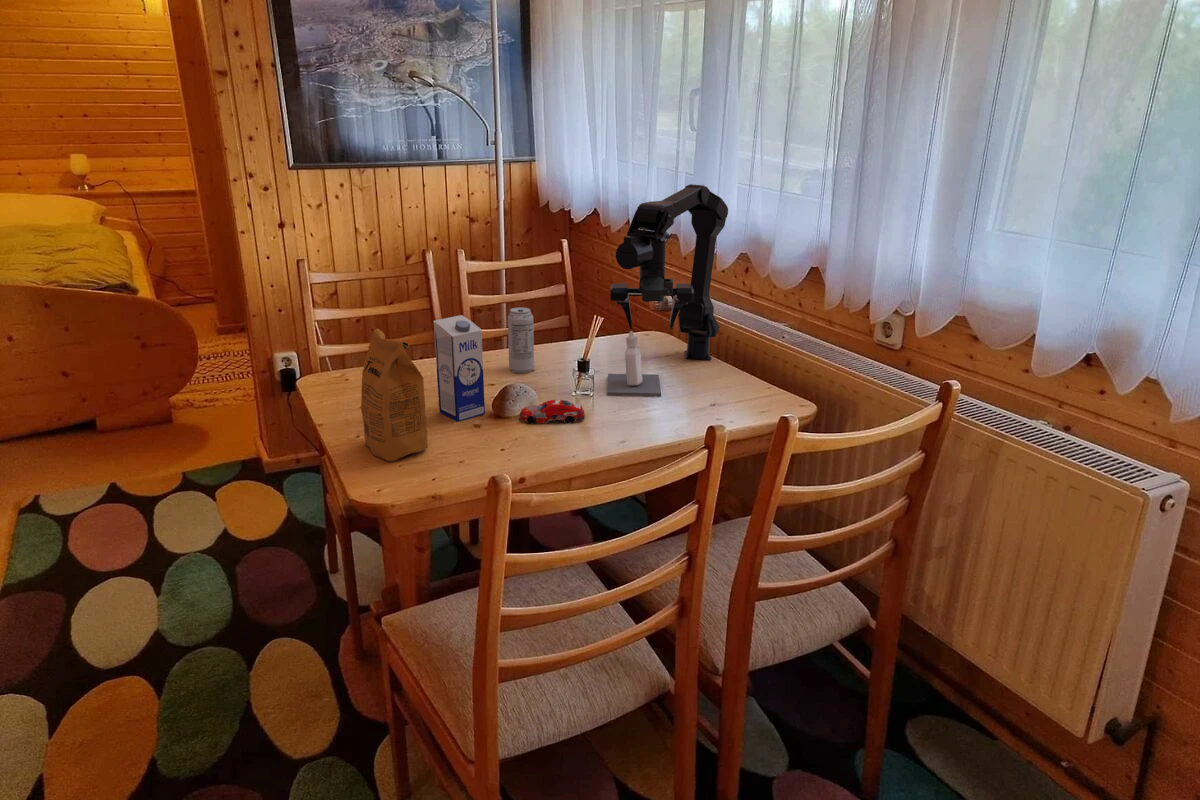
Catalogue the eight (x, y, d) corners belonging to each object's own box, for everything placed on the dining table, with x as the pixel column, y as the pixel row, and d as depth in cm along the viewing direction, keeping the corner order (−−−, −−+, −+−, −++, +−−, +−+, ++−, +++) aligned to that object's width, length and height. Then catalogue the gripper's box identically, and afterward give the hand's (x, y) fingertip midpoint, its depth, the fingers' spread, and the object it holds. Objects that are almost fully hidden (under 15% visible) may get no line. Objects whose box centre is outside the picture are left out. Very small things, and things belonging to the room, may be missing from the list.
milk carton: (466, 405, 166) (462, 313, 159) (485, 413, 161) (482, 320, 154) (438, 413, 161) (432, 319, 154) (457, 422, 156) (452, 326, 149)
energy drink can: (533, 366, 191) (532, 306, 186) (534, 373, 186) (533, 312, 180) (508, 366, 190) (507, 307, 185) (509, 374, 185) (507, 313, 180)
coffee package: (406, 431, 152) (398, 322, 144) (435, 452, 143) (427, 337, 135) (357, 443, 146) (345, 330, 138) (383, 466, 137) (372, 347, 129)
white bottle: (649, 380, 178) (646, 329, 175) (634, 387, 174) (630, 335, 171) (635, 378, 181) (631, 328, 177) (619, 384, 177) (615, 333, 173)
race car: (519, 425, 156) (518, 407, 155) (520, 415, 161) (519, 397, 160) (584, 425, 157) (584, 406, 155) (583, 415, 162) (583, 397, 160)
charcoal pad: (607, 376, 184) (608, 373, 184) (658, 377, 184) (658, 374, 184) (607, 395, 172) (607, 392, 172) (661, 396, 172) (661, 393, 172)
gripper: (610, 269, 166) (610, 339, 171) (697, 269, 165) (694, 339, 171) (610, 258, 176) (610, 324, 182) (692, 258, 176) (690, 324, 181)
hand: (650, 328), depth 179 cm, fingers open, 9 cm apart
